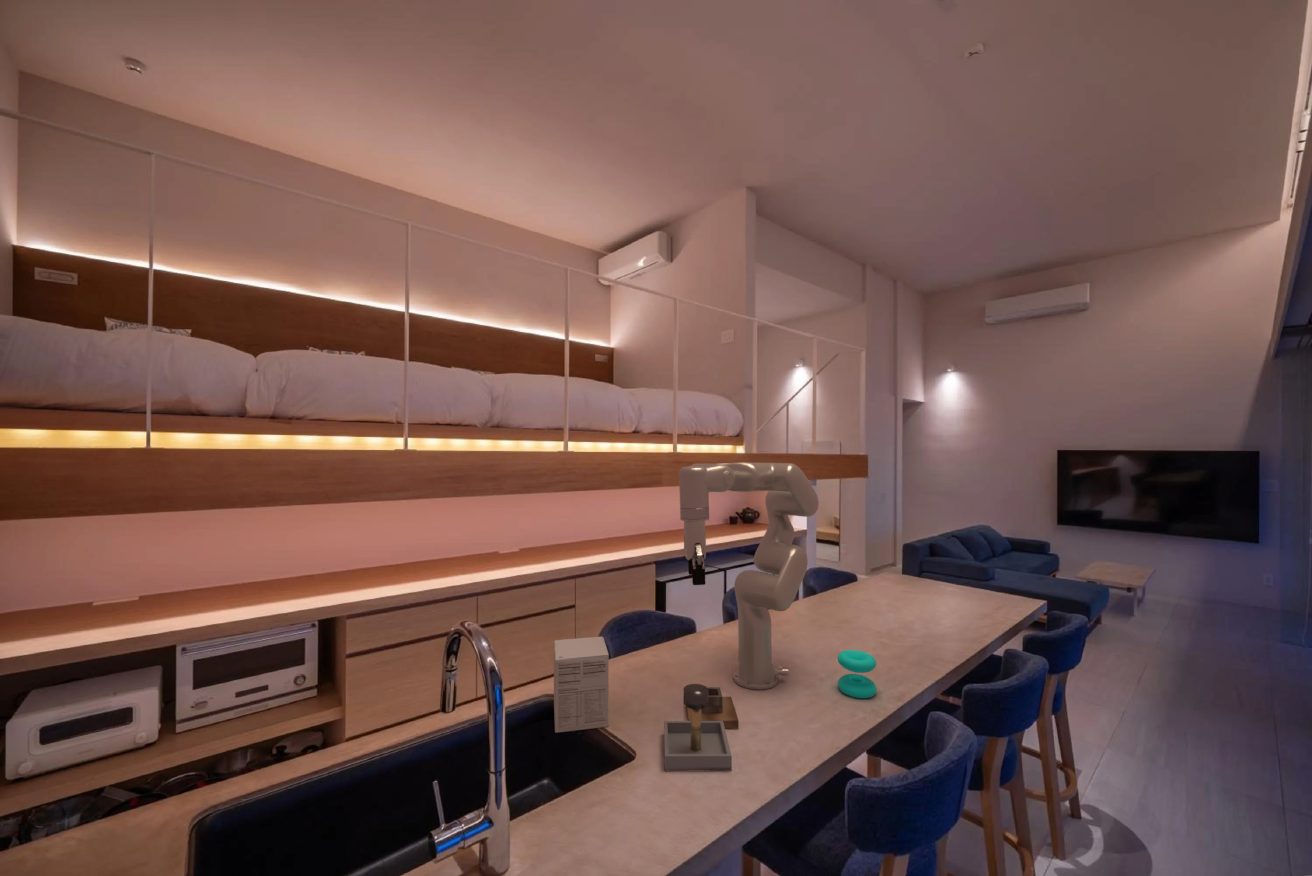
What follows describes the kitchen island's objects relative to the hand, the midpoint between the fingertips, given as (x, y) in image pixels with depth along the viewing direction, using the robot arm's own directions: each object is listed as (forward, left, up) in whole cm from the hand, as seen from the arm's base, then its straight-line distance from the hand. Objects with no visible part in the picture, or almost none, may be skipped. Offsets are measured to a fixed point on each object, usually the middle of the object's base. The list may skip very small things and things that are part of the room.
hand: (696, 579), depth 134 cm
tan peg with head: (+2, +18, -33) cm, 38 cm away
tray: (+2, +18, -34) cm, 38 cm away
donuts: (-45, -10, -34) cm, 57 cm away
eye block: (-3, +3, -34) cm, 34 cm away
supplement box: (+30, +3, -34) cm, 45 cm away
